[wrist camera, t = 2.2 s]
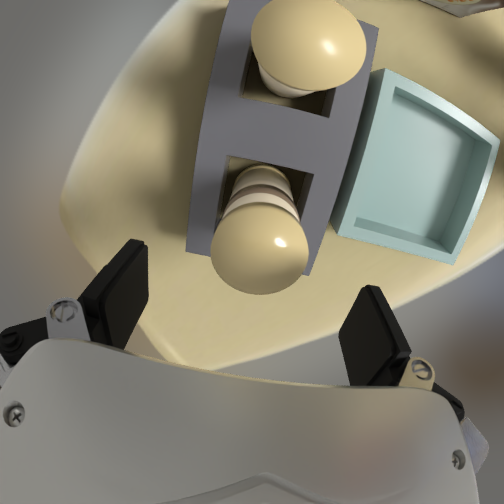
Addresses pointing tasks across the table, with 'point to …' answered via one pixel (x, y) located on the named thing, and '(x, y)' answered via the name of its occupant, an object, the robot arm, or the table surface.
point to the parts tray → (413, 171)
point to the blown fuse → (260, 234)
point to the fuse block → (280, 117)
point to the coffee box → (466, 6)
